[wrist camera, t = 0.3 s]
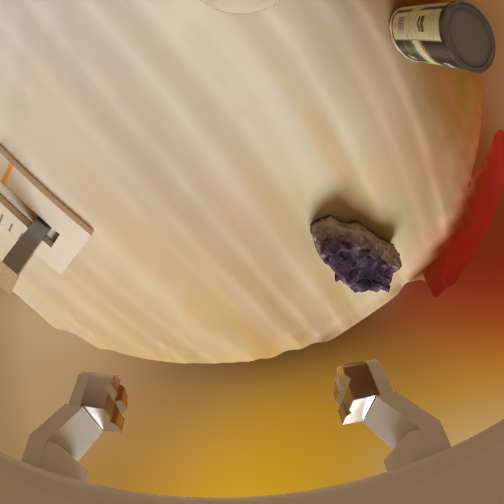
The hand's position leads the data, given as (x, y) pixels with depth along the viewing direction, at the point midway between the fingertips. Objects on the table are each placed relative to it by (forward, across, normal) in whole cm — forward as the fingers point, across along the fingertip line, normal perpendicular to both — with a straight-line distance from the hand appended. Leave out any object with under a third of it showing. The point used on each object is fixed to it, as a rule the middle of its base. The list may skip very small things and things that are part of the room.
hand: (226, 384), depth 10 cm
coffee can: (+38, -30, -23) cm, 53 cm away
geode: (+42, -22, +19) cm, 51 cm away
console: (+40, +40, +6) cm, 57 cm away
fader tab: (+40, +36, +9) cm, 55 cm away
